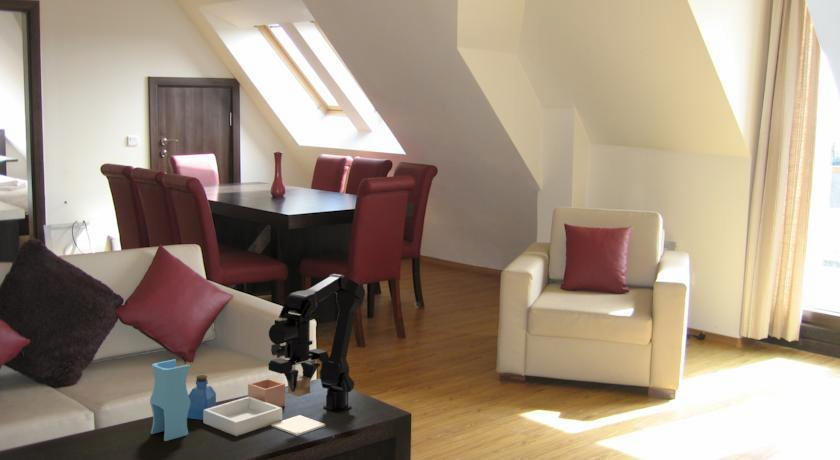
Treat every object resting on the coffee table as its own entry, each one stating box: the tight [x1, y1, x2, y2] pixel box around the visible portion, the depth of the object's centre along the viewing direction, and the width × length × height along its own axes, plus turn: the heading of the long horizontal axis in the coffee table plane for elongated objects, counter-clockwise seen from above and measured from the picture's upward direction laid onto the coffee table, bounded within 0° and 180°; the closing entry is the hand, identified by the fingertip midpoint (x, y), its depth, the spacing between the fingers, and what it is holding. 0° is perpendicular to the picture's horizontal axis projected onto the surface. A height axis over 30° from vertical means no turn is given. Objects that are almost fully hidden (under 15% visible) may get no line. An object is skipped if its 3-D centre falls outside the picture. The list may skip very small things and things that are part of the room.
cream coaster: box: [270, 414, 326, 437], centre depth 254 cm, size 11×11×1 cm
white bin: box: [202, 396, 283, 437], centre depth 256 cm, size 17×15×4 cm
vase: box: [149, 358, 191, 442], centre depth 244 cm, size 8×8×20 cm
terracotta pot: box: [247, 378, 286, 408], centre depth 270 cm, size 8×8×7 cm
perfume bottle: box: [187, 374, 217, 420], centre depth 259 cm, size 6×6×12 cm
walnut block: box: [287, 374, 311, 397], centre depth 252 cm, size 4×4×4 cm
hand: (298, 389), depth 252 cm, fingers closed on walnut block, 4 cm apart
